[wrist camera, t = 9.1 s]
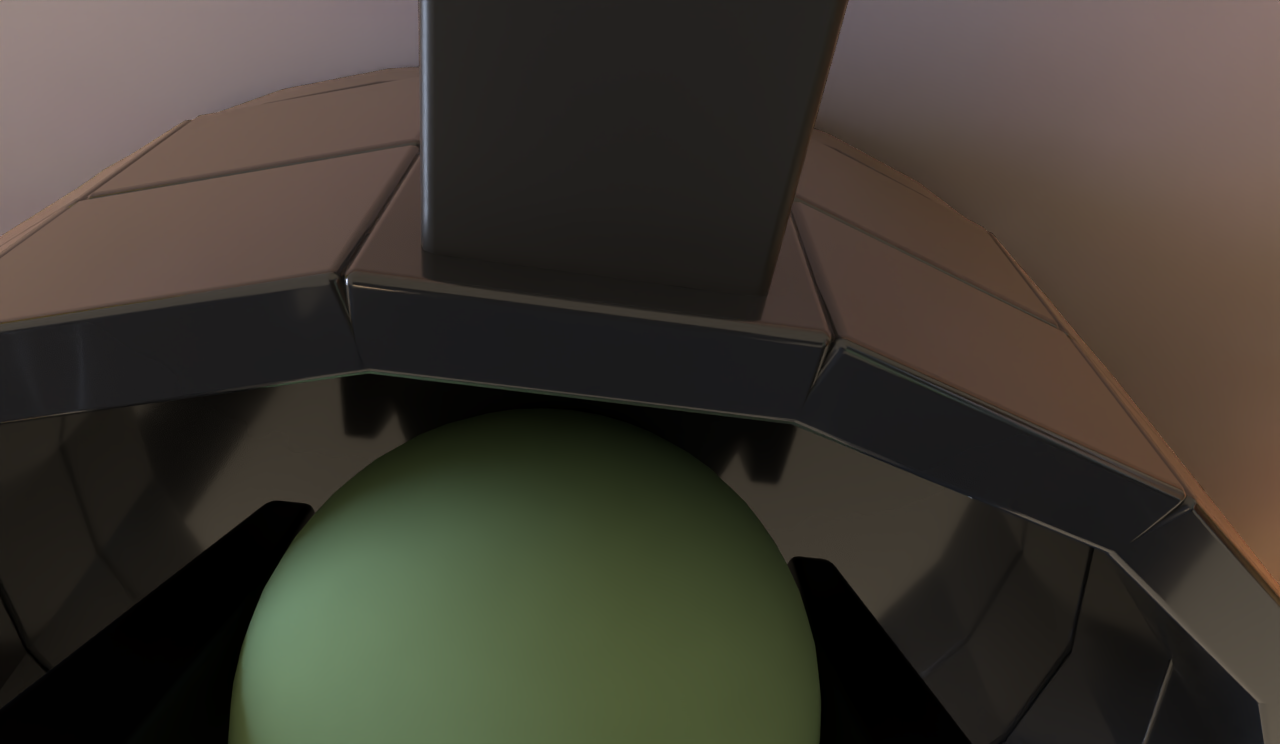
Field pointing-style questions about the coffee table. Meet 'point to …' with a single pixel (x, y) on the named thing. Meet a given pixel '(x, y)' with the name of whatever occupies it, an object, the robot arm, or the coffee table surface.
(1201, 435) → the coffee table surface
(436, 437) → the green ball
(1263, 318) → the coffee table surface
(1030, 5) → the coffee table surface
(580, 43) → the pan handle
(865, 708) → the robot arm
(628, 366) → the pan
